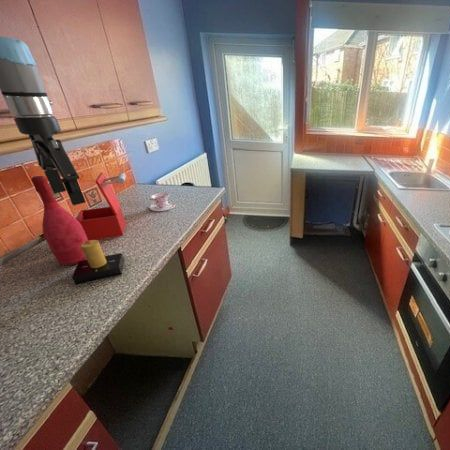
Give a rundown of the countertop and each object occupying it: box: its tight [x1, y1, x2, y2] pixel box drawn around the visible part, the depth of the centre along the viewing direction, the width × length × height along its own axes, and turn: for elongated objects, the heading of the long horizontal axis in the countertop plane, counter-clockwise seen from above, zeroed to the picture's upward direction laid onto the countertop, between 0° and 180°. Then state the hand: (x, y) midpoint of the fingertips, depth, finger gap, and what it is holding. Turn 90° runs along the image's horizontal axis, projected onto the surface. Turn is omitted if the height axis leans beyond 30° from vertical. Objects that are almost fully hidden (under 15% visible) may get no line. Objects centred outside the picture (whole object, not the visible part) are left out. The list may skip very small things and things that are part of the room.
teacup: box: [149, 192, 176, 212], centre depth 127 cm, size 12×12×6 cm
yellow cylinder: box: [81, 239, 107, 268], centre depth 79 cm, size 4×4×8 cm
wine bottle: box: [31, 175, 88, 266], centre depth 81 cm, size 10×10×30 cm
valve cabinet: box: [75, 206, 127, 241], centre depth 103 cm, size 14×12×9 cm
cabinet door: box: [94, 171, 127, 215], centre depth 101 cm, size 15×12×8 cm
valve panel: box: [71, 252, 125, 286], centre depth 82 cm, size 12×9×3 cm
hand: (69, 197), depth 70 cm, fingers open, 13 cm apart
